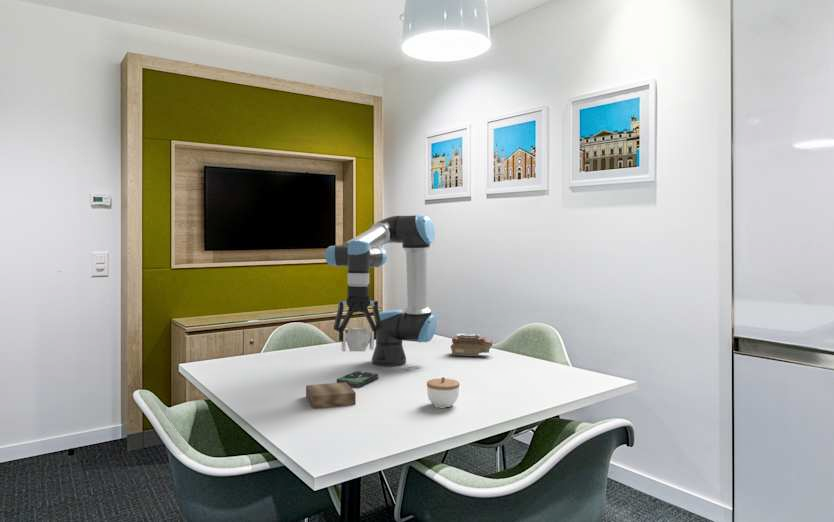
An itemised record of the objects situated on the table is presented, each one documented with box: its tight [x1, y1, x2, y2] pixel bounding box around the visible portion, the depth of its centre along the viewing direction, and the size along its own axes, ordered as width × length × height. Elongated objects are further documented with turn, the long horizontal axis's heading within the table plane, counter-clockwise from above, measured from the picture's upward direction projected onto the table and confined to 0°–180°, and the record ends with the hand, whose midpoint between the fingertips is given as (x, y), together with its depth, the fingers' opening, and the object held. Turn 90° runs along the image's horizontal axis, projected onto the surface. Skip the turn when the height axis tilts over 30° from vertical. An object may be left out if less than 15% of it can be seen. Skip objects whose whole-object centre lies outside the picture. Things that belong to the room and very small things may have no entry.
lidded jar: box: [426, 376, 460, 408], centre depth 185 cm, size 11×11×9 cm
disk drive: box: [336, 370, 379, 389], centre depth 214 cm, size 10×3×15 cm
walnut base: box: [305, 382, 357, 409], centre depth 189 cm, size 14×14×4 cm
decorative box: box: [450, 332, 494, 357], centre depth 266 cm, size 13×20×10 cm, turn 72°
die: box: [346, 327, 370, 352], centre depth 195 cm, size 8×9×10 cm
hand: (357, 349), depth 195 cm, fingers closed on die, 9 cm apart
